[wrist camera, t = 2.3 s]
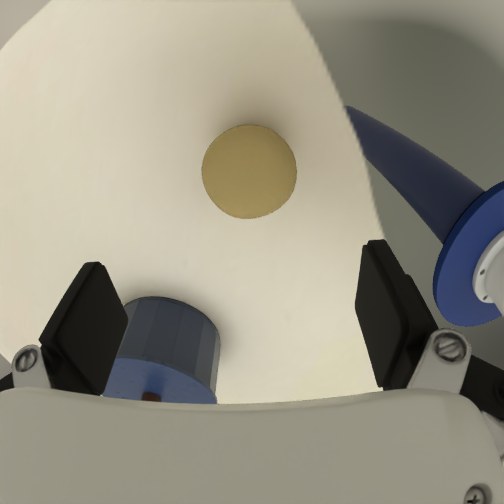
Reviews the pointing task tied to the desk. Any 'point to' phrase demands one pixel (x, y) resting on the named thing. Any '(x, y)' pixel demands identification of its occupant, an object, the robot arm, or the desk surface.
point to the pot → (172, 336)
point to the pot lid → (155, 382)
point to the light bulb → (249, 171)
